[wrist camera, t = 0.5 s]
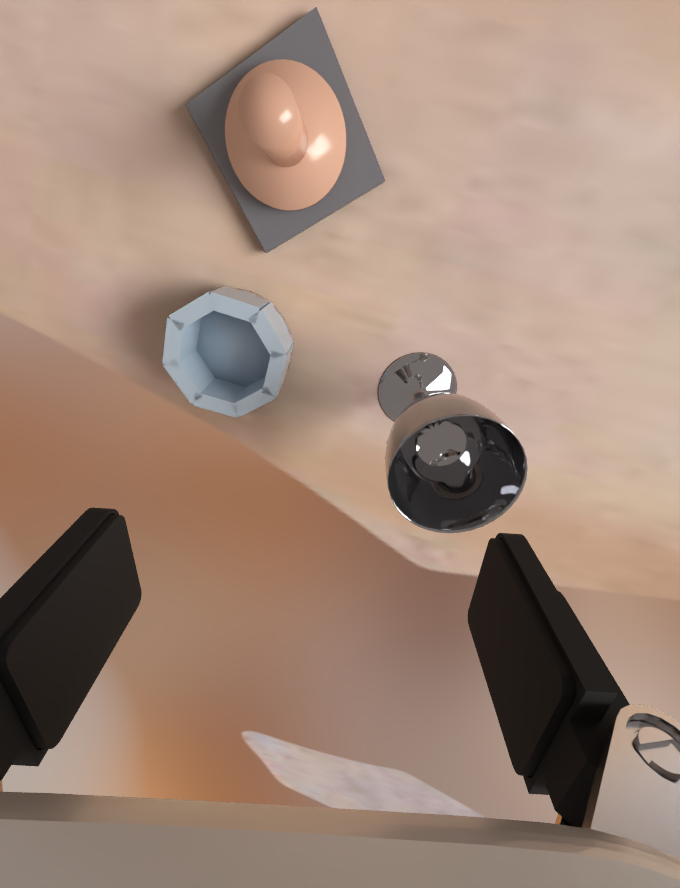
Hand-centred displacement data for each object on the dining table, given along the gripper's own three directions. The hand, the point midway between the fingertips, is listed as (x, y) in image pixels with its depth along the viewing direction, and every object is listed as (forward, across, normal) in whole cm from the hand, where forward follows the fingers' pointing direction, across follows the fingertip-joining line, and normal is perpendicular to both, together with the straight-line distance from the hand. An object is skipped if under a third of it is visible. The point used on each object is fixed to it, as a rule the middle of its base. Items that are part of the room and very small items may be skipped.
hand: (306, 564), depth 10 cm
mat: (+27, +4, -13) cm, 30 cm away
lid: (+26, +4, -13) cm, 29 cm away
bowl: (+27, +8, +1) cm, 28 cm away
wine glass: (+27, -8, +4) cm, 28 cm away
